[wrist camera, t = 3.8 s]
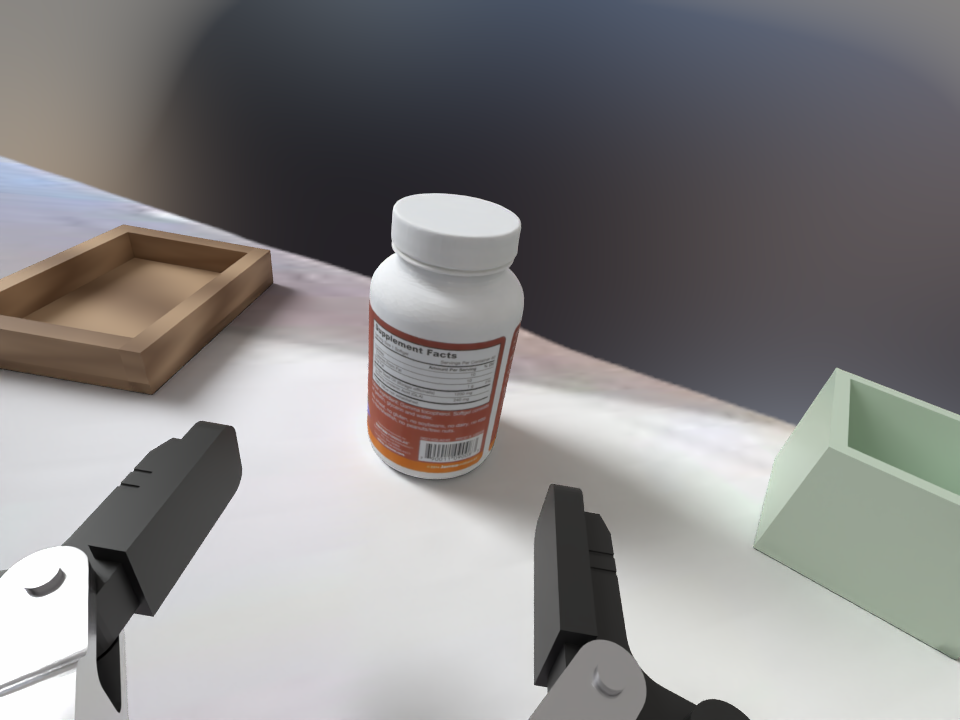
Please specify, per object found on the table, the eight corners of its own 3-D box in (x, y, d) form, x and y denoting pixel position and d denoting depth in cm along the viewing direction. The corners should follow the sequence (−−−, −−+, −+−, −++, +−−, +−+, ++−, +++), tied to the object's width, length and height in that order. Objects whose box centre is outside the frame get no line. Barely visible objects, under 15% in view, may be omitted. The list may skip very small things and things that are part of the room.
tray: (152, 394, 23) (140, 352, 22) (-55, 358, 23) (-80, 314, 22) (273, 282, 34) (270, 250, 33) (132, 258, 34) (123, 224, 33)
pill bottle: (422, 381, 27) (443, 178, 21) (516, 433, 25) (570, 220, 19) (337, 439, 23) (332, 201, 17) (442, 509, 20) (482, 260, 14)
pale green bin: (955, 659, 18) (1092, 564, 15) (753, 547, 21) (828, 446, 18) (934, 534, 23) (1032, 443, 20) (774, 458, 26) (836, 367, 23)
